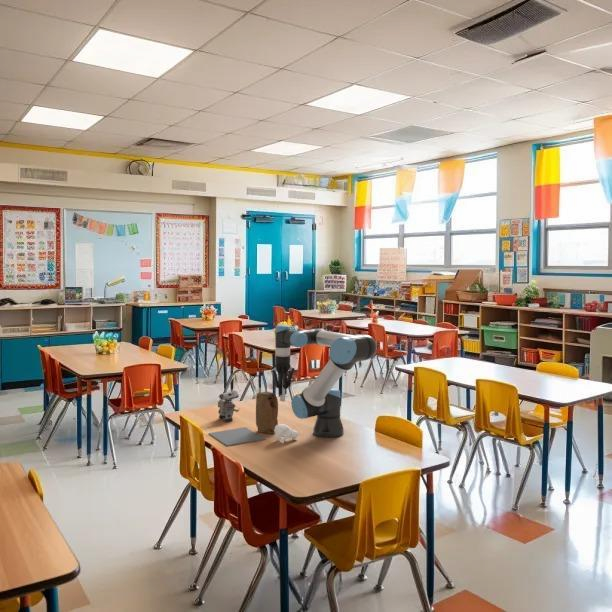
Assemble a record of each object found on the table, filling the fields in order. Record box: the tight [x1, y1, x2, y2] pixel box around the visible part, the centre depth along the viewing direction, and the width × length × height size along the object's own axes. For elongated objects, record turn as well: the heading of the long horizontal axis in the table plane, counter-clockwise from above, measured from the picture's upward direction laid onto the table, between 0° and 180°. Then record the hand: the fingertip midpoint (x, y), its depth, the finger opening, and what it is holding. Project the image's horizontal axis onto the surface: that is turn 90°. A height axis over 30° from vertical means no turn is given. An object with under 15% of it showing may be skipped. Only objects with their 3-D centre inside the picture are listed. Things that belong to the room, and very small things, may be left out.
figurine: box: [217, 390, 241, 423], centre depth 323 cm, size 9×12×15 cm
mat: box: [208, 426, 266, 447], centre depth 292 cm, size 22×20×1 cm
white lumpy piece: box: [274, 423, 299, 444], centre depth 286 cm, size 6×8×12 cm
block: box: [255, 391, 279, 434], centre depth 300 cm, size 11×8×20 cm
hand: (282, 400), depth 305 cm, fingers closed
